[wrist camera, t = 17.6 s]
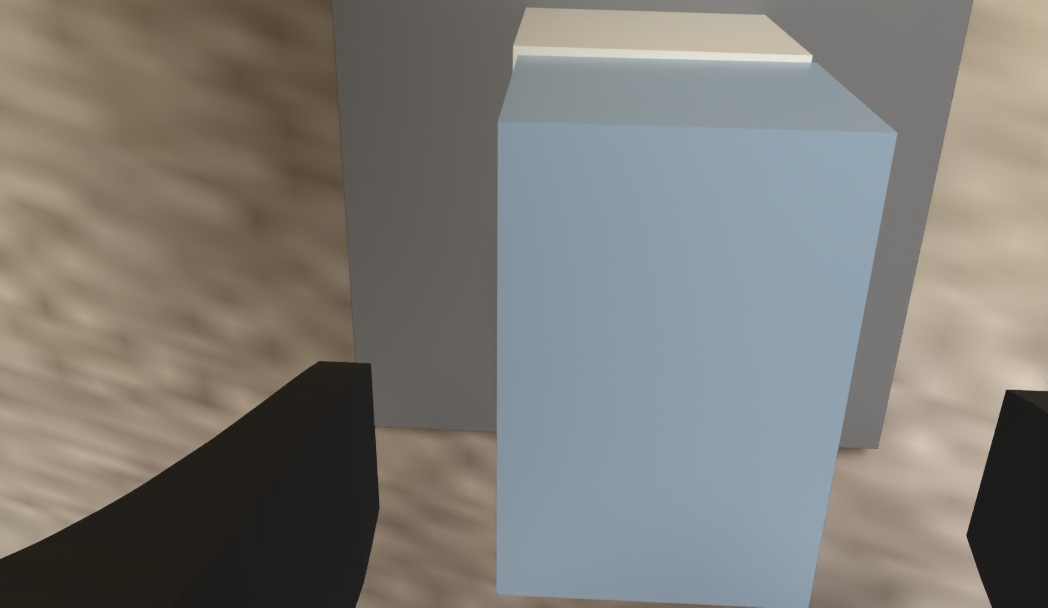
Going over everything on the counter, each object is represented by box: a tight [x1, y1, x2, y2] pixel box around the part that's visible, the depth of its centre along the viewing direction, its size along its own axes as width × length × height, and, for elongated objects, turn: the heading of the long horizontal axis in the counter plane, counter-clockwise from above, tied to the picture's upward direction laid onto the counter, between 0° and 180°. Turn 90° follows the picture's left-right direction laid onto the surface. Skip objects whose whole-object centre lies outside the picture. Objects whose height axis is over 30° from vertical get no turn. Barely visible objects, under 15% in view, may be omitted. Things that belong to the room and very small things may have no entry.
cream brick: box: [513, 7, 813, 70], centre depth 18 cm, size 7×4×4 cm, turn 179°
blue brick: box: [496, 55, 897, 608], centre depth 14 cm, size 7×4×4 cm, turn 179°
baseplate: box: [332, 0, 973, 449], centre depth 20 cm, size 12×12×1 cm
